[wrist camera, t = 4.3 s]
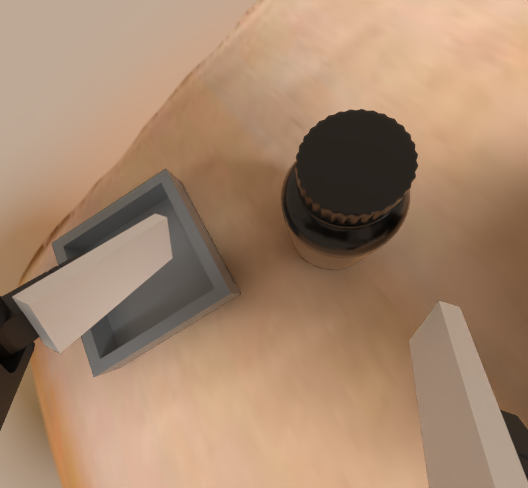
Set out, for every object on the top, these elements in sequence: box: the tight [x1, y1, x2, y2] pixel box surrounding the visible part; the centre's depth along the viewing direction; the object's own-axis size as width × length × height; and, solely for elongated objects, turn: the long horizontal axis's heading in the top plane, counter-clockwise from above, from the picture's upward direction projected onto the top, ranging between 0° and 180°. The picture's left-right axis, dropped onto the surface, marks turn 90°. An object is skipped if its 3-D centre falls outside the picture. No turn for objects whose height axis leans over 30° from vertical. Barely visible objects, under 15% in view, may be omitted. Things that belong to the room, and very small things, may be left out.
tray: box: [52, 169, 241, 377], centre depth 22 cm, size 13×13×3 cm
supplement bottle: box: [281, 109, 418, 270], centre depth 16 cm, size 7×7×12 cm
